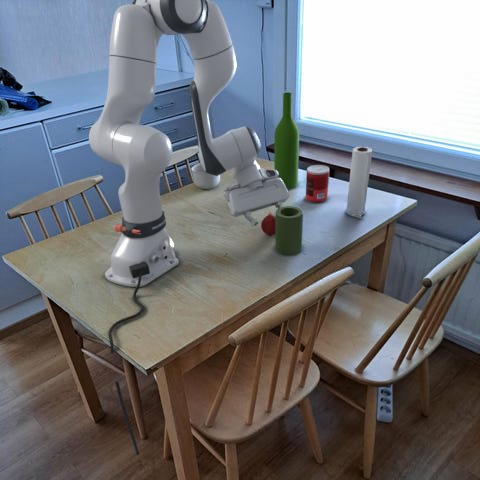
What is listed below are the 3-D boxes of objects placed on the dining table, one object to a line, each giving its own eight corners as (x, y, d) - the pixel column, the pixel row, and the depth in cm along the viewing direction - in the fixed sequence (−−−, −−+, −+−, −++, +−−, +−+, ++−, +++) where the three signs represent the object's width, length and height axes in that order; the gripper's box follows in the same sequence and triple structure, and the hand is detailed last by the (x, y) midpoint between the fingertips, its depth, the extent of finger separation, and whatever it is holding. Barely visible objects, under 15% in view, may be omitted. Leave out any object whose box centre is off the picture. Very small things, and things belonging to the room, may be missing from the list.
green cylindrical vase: (296, 257, 136) (297, 219, 128) (271, 252, 139) (271, 215, 131) (305, 245, 141) (307, 208, 134) (281, 240, 144) (281, 204, 137)
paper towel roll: (348, 207, 160) (355, 145, 147) (366, 210, 158) (374, 146, 145) (343, 216, 155) (349, 152, 142) (361, 219, 153) (369, 154, 140)
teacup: (217, 192, 176) (215, 171, 171) (189, 191, 178) (187, 170, 173) (225, 178, 187) (224, 158, 182) (199, 177, 189) (197, 158, 184)
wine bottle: (302, 184, 178) (305, 92, 158) (287, 191, 173) (289, 97, 153) (284, 178, 183) (285, 89, 163) (269, 185, 178) (269, 94, 158)
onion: (283, 235, 147) (283, 211, 142) (271, 242, 144) (271, 218, 139) (269, 230, 150) (269, 207, 145) (257, 236, 147) (257, 213, 142)
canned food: (330, 196, 168) (333, 166, 161) (321, 204, 163) (323, 174, 156) (311, 192, 172) (313, 163, 165) (301, 200, 166) (303, 170, 160)
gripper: (224, 184, 139) (243, 226, 138) (281, 169, 146) (298, 208, 145) (218, 193, 144) (236, 233, 144) (273, 178, 152) (290, 216, 151)
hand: (268, 221), depth 145 cm, fingers open, 8 cm apart
